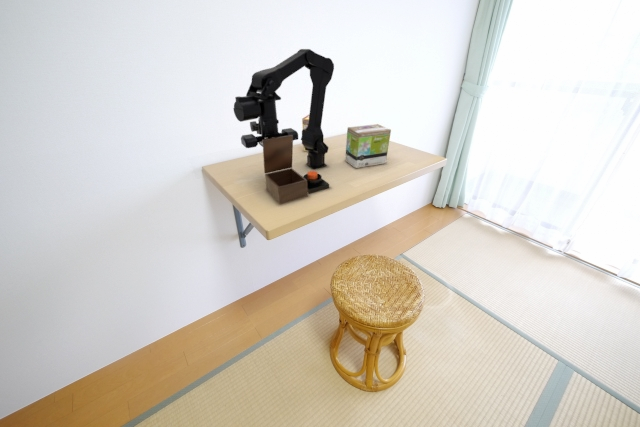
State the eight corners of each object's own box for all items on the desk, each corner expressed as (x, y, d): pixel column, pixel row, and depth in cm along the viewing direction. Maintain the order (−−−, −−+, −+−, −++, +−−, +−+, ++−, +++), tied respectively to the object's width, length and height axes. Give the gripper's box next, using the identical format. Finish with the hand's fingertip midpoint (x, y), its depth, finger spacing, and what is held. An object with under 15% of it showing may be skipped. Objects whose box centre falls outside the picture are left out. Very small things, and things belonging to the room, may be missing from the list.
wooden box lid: (293, 135, 84) (292, 134, 84) (263, 140, 80) (262, 139, 80) (292, 167, 92) (291, 166, 93) (264, 173, 88) (264, 172, 88)
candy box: (311, 152, 124) (310, 118, 115) (303, 151, 125) (301, 118, 117) (317, 146, 131) (316, 114, 123) (309, 145, 132) (308, 114, 124)
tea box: (356, 169, 106) (359, 133, 98) (344, 161, 114) (346, 126, 106) (386, 163, 111) (391, 128, 103) (373, 156, 119) (377, 122, 111)
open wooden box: (307, 196, 87) (307, 180, 84) (279, 204, 83) (278, 187, 80) (292, 183, 96) (291, 168, 93) (266, 190, 92) (264, 174, 88)
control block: (296, 182, 96) (296, 174, 94) (315, 178, 100) (315, 169, 98) (309, 193, 89) (309, 184, 87) (329, 188, 92) (329, 179, 91)
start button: (305, 177, 93) (305, 172, 92) (314, 174, 95) (314, 170, 94) (310, 180, 91) (310, 176, 90) (319, 178, 92) (319, 173, 91)
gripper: (284, 108, 94) (287, 150, 103) (232, 114, 86) (240, 159, 95) (297, 114, 86) (300, 159, 95) (242, 121, 78) (250, 169, 87)
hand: (272, 161), depth 93 cm, fingers closed
